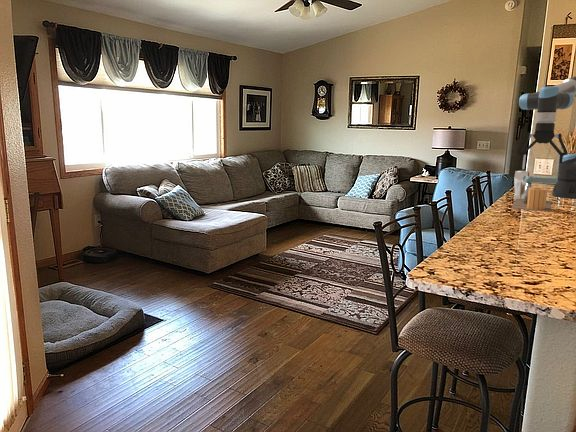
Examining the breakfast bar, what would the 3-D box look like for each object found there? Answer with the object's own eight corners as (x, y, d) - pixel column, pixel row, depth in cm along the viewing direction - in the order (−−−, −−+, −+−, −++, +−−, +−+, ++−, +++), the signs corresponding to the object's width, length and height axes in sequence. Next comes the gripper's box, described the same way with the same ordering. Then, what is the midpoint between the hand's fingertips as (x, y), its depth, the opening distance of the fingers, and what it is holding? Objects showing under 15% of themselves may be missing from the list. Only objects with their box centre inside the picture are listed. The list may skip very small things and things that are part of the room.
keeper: (525, 181, 229) (525, 176, 228) (525, 181, 232) (526, 176, 231) (556, 183, 222) (557, 178, 222) (556, 182, 225) (557, 177, 224)
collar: (527, 205, 217) (529, 187, 215) (545, 207, 213) (547, 188, 212) (526, 208, 211) (528, 189, 209) (544, 210, 207) (547, 190, 205)
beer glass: (523, 198, 244) (526, 170, 241) (529, 200, 238) (532, 172, 234) (510, 198, 245) (512, 170, 242) (515, 200, 238) (518, 172, 235)
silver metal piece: (524, 199, 233) (526, 181, 231) (529, 200, 232) (531, 182, 230) (522, 203, 224) (524, 184, 222) (528, 203, 223) (530, 185, 221)
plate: (516, 201, 237) (516, 198, 237) (551, 204, 229) (552, 201, 228) (510, 211, 212) (510, 208, 211) (549, 215, 204) (550, 211, 203)
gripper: (513, 122, 207) (509, 168, 211) (578, 122, 194) (571, 172, 199) (515, 122, 213) (510, 167, 218) (578, 122, 201) (571, 170, 205)
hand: (539, 169), depth 208 cm, fingers open, 13 cm apart
